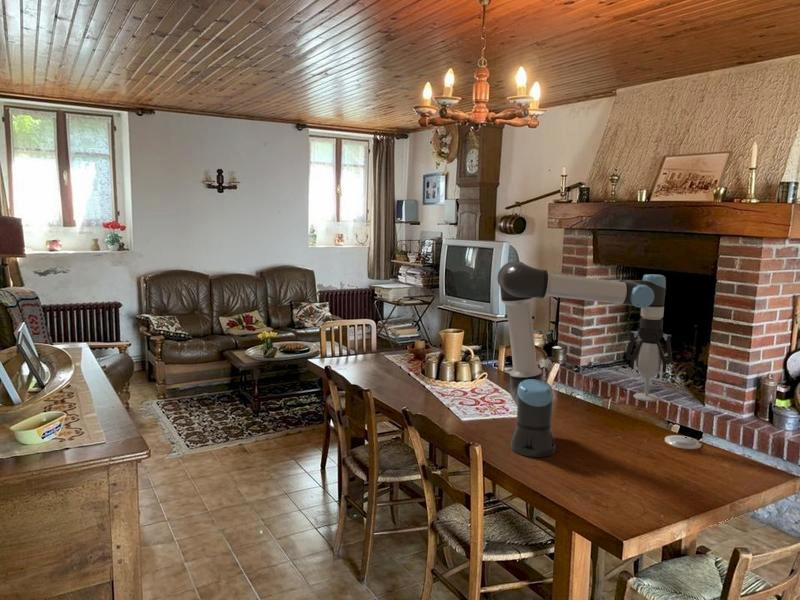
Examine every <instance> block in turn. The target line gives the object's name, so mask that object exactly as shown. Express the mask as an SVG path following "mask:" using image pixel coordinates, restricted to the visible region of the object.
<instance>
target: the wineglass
mask: <svg viewBox="0 0 800 600" xmlns="http://www.w3.org/2000/svg"><path fill="white" fill-rule="evenodd" d="M636 360H637V371H638V372H639V373H640V375H641V376H642V377H643V378H644V381H645V383H644V392H636V393H635V394H633V398H634V399H636V400H639V401H643V402H653V403H654V402H657V401H659V399H660V397H658V395H656V394H653V393H652V394H651V393H649V392H650V391H649V390H650V379H651V378H653V377H655V376H656V375H657V374H659V373H660V365H661V362H662V359H661V357H660V354H659V348H658V346H657V344H651V343H642V345H641V347H640V350H639V353H638V355H637V356H636Z"/></svg>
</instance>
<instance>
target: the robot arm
mask: <svg viewBox="0 0 800 600" xmlns="http://www.w3.org/2000/svg"><path fill="white" fill-rule="evenodd" d="M666 281H667V279H666V276H664V274H663V275H662V274H653V273H651V274H650V273H649V274H647V273H646V274H644V275H643V277H642V279H640V280H639V279H638V280H636V279H611V280H607V279H601V278H600V279H599V278H590V277H581V276H574V275H564V274H558V273H557V274H555V273H551V272H549V270H547V269H539V268H535V267H532V266H529V265H528V264H526V263H524V262H522V261H519V260H518V261H517V260H513V261H512V260H511V261H508V262H506V263H505V264H503V265H502V266H501V267H500V268H499V271H498V274H497V282H498V285H499V289H500V298H501V299H500V300H501V302H503V304H505V305H506V314H507V324H508V325H507V326H508V333H509V342H510V351H511V361H512V369H511V371H510V372H509V381H510V383H509V394H510V396H511V399H512V400H513V401H514V403H515V405H516V407H517V408H516V427H515V429H514V432H513V435H512V438H511V441H510V449H511V450H512V451H513V452H515V453H516V454H518V455H522V456H526V457H530V458H546V457H550V456H552V455H554V454H556V443H555V439H554V436H553V432H552V414H553V399H554V394H553V387H552V385H551V384H549V383H548V382H546V381H544V380H543V379H544V378H543V371H542V369H541V368H539V367H538V364H537V363H538V362H537V355H536V353H537V352H536V345H535V334H534V325H533V315H532V307H531V306H532V305H531V302H532V301H533V300H534V299H543V300H544V299H545V298H547V297H554V298H562V299H572V300H582V301H589V302H600V303H609V304H617V305H618V304H619V305H623V306H624V305H625V306H634V307H636V308H640V321H639V330H638V331H633V330H632V331H631V332H629V333H630V334H629V335H630V337H629V338H630V340H629V344H628V347H627V351H626V355H625V358H626V359H627V360H630V369H632V370H633V372H632V373H633V374H632V379H634V380H636V378H637V370H638V368H637V355H638V353H639V350H640V347H641V345H642V343H651V344H657V346H658V348H659V354H660V357H661V365H660V369H659V382H660V383H662V382H663V373H666V372H667V365H668V364H672V363H673V354H672V346H671V339H672V334H666V333H664V331H663V326H664V319H663V318H664V314H665V313H664V311H665V297H666V290H667V286H666V285H667V282H666ZM637 337H640V339H641V340H640V343H639V344H638V346H637V348H635V351H634V352H633V354H632V355H631V353H632V350H633V347H634V342H635V339H636V338H637ZM662 338H664V341H666V352H667V358H666V356H665V355H666V354H665V352H664V350H663V348H662V345H661V342H660V340H662Z"/></svg>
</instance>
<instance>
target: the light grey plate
mask: <svg viewBox="0 0 800 600" xmlns="http://www.w3.org/2000/svg"><path fill="white" fill-rule="evenodd" d="M685 437H687V438H685ZM692 439H693V440H692ZM664 442H665V443H666V444H667V445H668V446H669V445H670V446H671V447H674V448H679V449H683V450H697V449H701V447H702V442H701V441H700V440H698V439H696V438H693V437H690V436H687V435H686V436H685V435H679V434H678V435H677V434H675V435H674V434H673V435H667V436H665V437H664ZM699 442H701V443H699Z"/></svg>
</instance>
